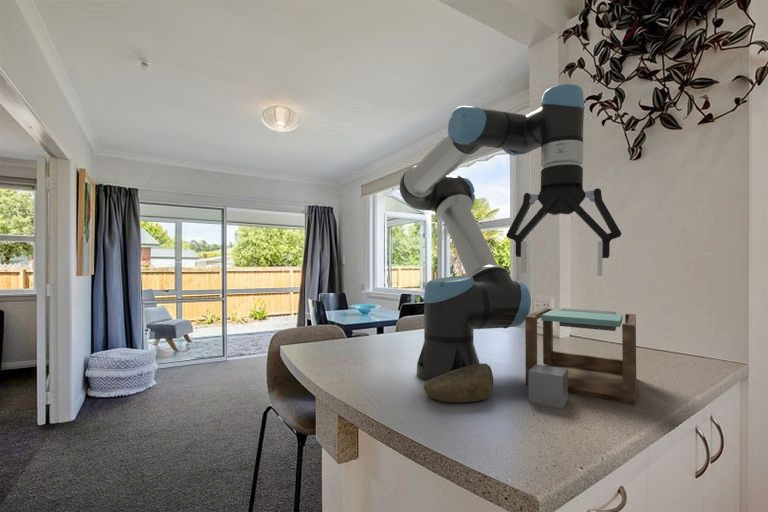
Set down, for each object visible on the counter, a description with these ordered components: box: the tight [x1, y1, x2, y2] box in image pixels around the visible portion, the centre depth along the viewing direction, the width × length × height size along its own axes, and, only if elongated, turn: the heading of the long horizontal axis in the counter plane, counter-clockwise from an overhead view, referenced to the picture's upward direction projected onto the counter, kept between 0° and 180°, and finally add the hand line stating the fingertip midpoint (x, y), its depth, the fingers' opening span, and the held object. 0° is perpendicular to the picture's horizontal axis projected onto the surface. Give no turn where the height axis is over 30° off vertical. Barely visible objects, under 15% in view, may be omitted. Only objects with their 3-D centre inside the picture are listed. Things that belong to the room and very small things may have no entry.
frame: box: [524, 307, 637, 406], centre depth 84 cm, size 20×20×15 cm
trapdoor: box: [540, 307, 623, 332], centre depth 87 cm, size 15×18×4 cm
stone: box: [423, 363, 494, 403], centre depth 74 cm, size 9×14×10 cm, turn 109°
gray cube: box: [528, 363, 569, 410], centre depth 73 cm, size 6×6×6 cm
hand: (559, 274), depth 74 cm, fingers open, 13 cm apart
